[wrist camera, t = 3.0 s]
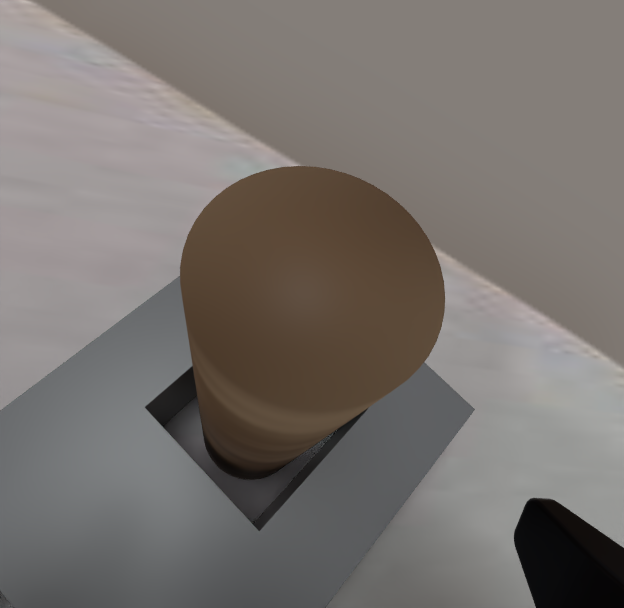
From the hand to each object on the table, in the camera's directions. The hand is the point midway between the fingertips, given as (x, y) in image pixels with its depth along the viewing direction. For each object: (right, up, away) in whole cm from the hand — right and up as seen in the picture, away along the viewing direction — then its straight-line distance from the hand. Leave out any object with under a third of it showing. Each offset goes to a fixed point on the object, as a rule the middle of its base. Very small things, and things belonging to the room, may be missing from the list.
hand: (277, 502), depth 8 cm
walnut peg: (-2, -1, +10) cm, 10 cm away
